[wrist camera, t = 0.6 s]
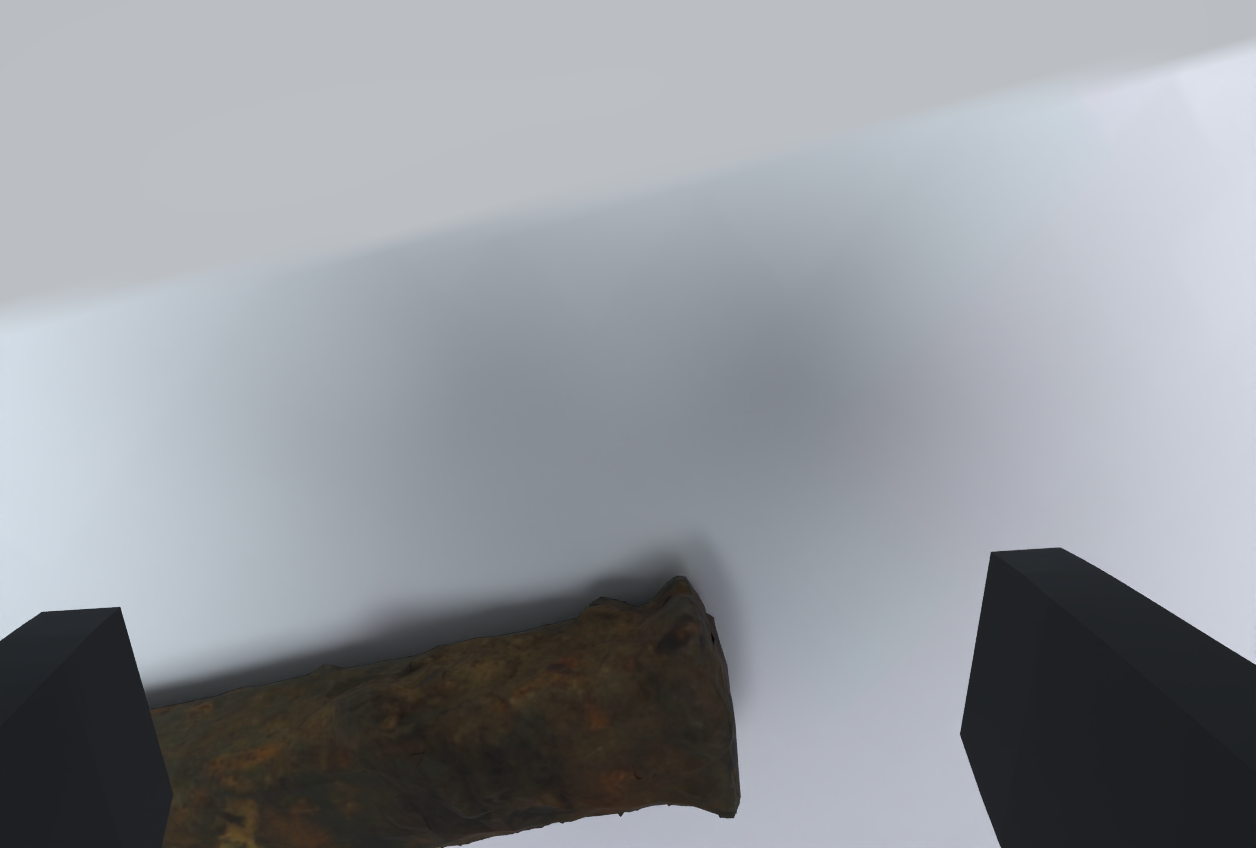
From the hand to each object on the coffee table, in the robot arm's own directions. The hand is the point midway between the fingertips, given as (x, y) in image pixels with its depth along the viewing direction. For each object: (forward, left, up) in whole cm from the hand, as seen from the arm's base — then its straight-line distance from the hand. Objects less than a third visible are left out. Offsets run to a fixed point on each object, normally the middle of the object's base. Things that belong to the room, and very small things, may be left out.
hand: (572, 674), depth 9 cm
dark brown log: (-9, +5, -11) cm, 15 cm away
